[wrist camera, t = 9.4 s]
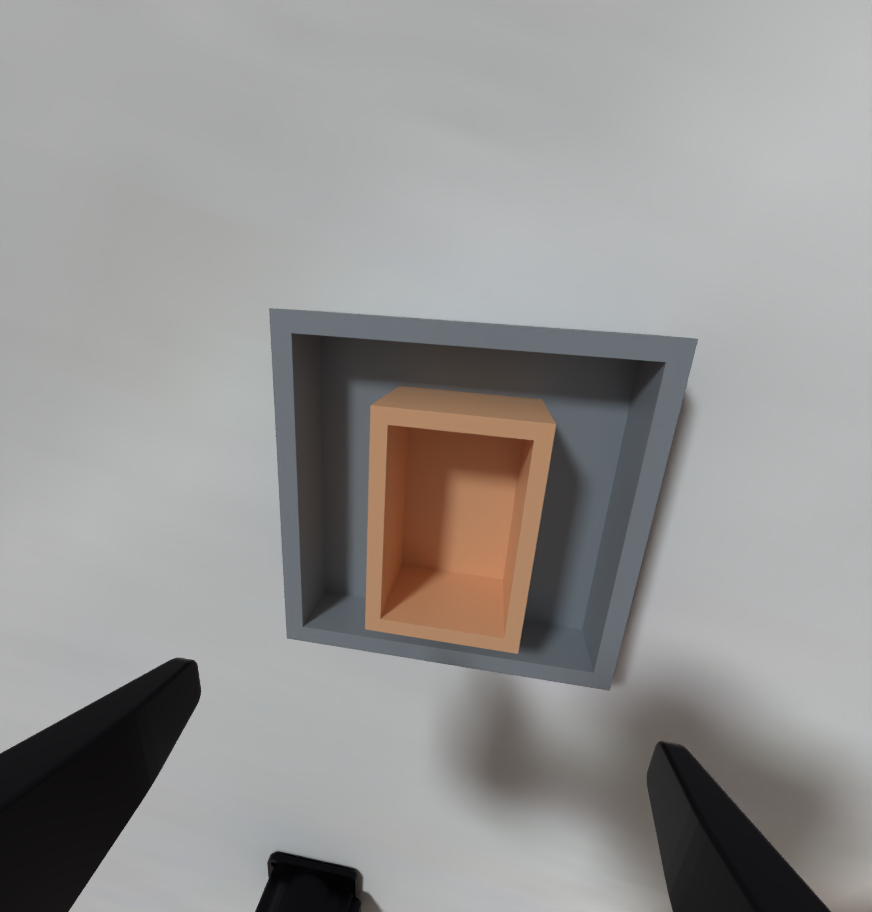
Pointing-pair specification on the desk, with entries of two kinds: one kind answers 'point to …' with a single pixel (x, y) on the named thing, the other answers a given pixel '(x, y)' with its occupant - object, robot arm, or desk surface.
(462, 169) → the desk surface
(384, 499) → the small crate
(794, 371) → the desk surface
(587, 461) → the big crate
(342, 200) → the desk surface
